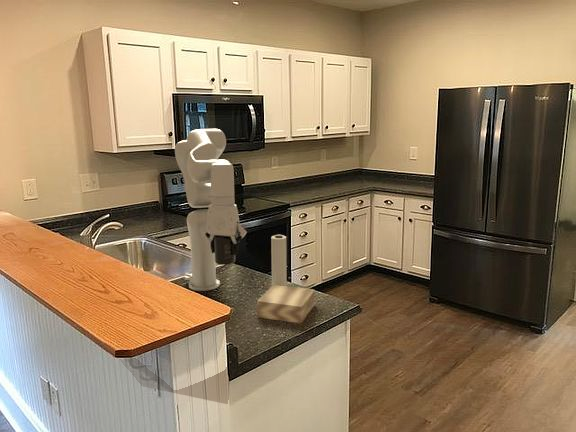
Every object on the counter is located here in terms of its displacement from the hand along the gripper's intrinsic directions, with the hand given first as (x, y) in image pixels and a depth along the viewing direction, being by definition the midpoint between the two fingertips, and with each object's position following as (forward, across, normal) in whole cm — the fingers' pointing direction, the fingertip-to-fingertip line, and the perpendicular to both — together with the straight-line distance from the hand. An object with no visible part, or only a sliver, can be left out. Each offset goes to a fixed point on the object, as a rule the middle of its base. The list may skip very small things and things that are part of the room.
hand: (224, 252), depth 155 cm
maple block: (+24, +18, +12) cm, 32 cm away
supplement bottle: (+4, 0, 0) cm, 4 cm away
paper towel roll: (+24, +8, +33) cm, 41 cm away
